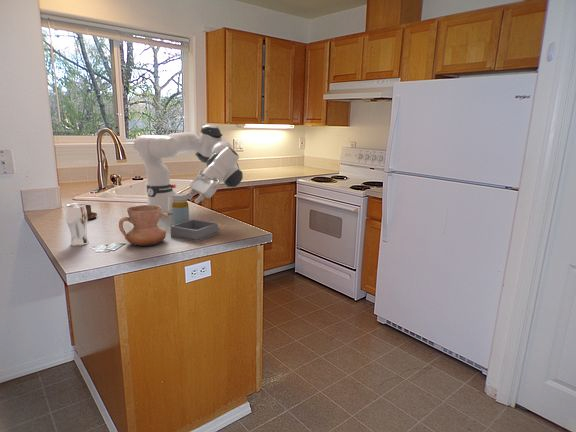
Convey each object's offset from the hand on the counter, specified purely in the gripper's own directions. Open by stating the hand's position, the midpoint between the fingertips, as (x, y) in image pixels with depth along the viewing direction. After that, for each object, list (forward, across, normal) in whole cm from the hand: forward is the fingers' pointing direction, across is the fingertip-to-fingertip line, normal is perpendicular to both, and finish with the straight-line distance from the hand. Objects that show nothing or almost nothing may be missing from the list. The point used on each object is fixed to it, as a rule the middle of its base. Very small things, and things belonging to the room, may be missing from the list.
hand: (191, 200), depth 171 cm
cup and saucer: (+37, +39, +20) cm, 58 cm away
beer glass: (+40, -3, +24) cm, 47 cm away
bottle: (+12, +1, -5) cm, 13 cm away
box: (+11, -13, -6) cm, 18 cm away
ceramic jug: (+25, -14, +9) cm, 30 cm away
